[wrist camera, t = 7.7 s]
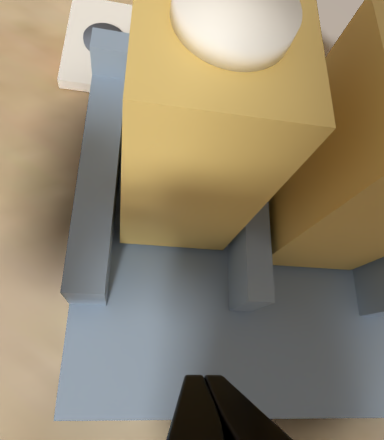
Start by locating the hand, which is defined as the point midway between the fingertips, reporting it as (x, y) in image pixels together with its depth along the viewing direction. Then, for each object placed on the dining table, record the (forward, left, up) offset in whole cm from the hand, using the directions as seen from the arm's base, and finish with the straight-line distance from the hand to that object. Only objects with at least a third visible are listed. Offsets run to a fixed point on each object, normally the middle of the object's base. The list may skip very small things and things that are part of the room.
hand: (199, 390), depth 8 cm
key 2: (+4, +7, -6) cm, 10 cm away
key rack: (+8, +2, -7) cm, 11 cm away
